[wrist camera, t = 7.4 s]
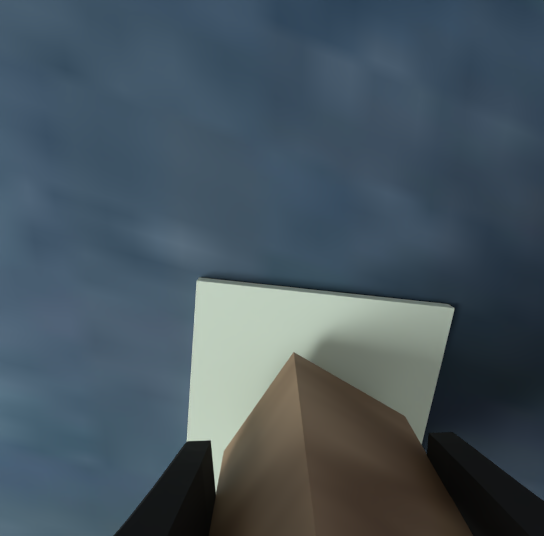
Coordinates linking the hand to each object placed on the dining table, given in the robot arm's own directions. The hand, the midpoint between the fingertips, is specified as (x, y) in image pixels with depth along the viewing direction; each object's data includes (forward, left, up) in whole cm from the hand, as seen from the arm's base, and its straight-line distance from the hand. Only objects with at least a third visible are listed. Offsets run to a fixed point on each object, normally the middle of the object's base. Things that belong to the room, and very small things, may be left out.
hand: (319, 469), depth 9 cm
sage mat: (0, 0, -3) cm, 3 cm away
